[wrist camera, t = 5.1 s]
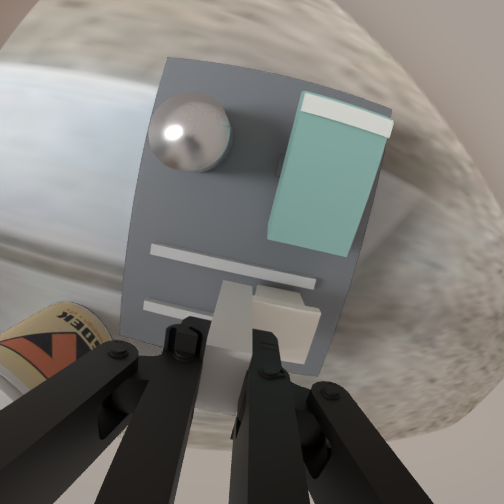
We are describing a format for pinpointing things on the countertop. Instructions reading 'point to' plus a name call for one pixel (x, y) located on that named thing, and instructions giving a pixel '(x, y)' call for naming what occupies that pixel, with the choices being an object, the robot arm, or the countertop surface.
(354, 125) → the block
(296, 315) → the slider
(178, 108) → the plunger
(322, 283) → the console
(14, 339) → the coffee cup
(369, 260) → the countertop surface
